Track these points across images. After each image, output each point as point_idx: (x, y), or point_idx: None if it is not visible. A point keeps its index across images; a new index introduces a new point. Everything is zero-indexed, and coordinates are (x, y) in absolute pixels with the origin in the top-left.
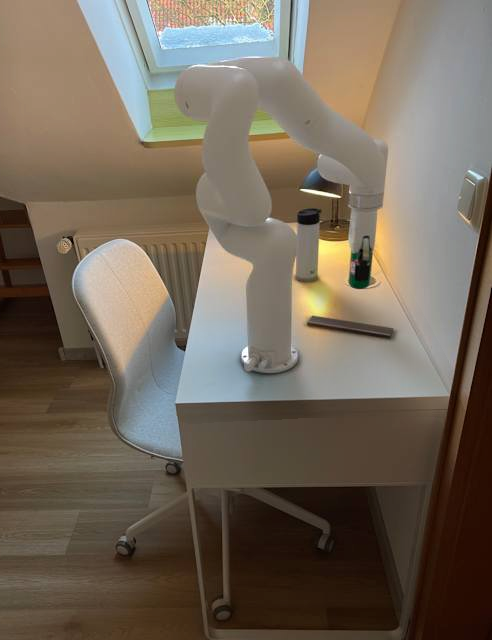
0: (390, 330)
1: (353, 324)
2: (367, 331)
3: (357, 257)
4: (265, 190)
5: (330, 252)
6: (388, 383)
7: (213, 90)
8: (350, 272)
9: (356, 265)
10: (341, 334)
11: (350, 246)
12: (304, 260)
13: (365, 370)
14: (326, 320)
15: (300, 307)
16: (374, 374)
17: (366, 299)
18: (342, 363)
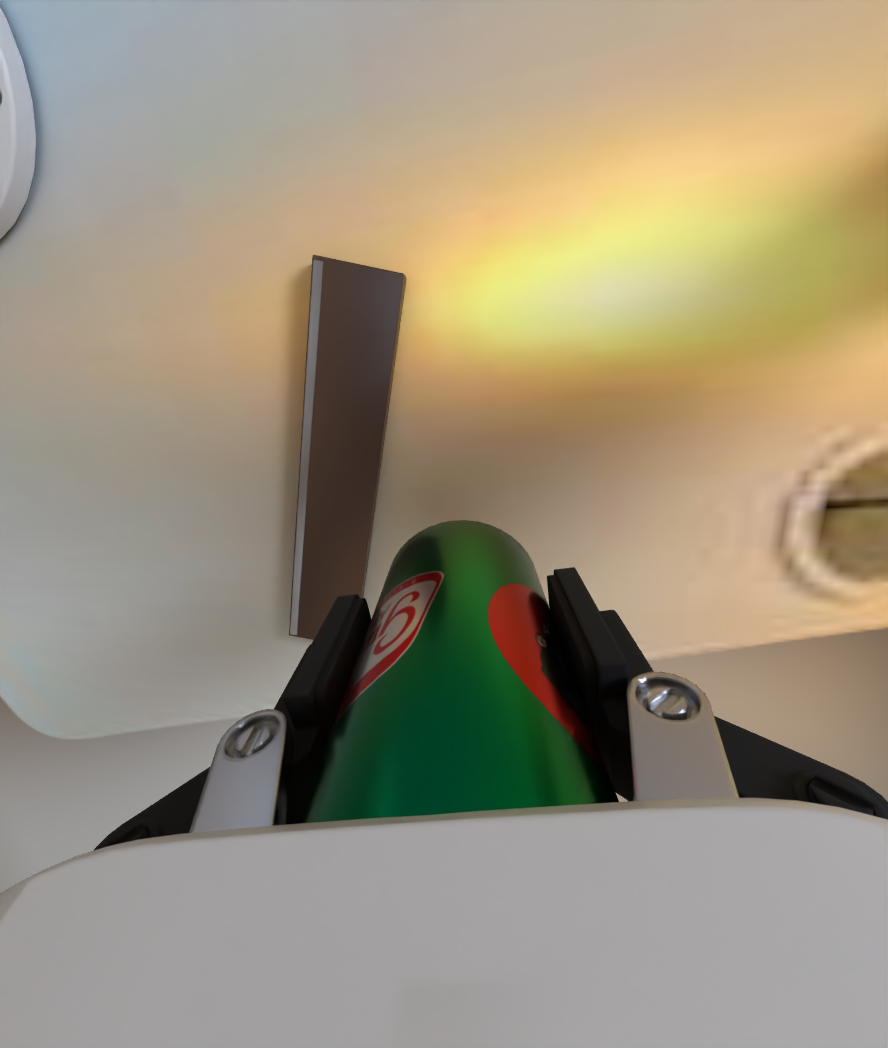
0: None
1: (348, 500)
2: (295, 558)
3: (215, 810)
4: None
5: None
6: (3, 616)
7: None
8: (414, 577)
9: (291, 699)
10: (274, 449)
11: (277, 887)
12: None
13: (40, 549)
14: (360, 366)
15: (541, 174)
16: (31, 577)
17: (649, 544)
18: (43, 468)
